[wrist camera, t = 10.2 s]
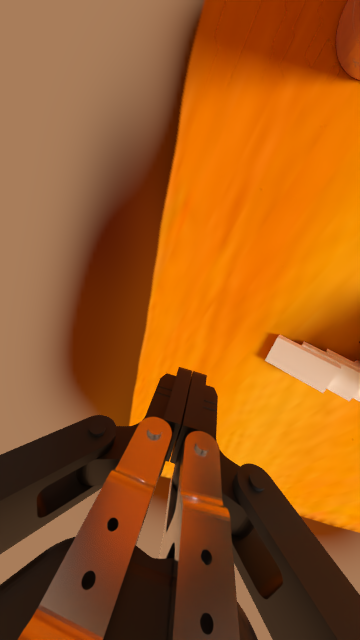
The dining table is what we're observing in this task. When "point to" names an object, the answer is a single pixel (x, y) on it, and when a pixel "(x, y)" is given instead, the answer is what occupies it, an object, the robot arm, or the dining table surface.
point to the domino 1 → (302, 363)
